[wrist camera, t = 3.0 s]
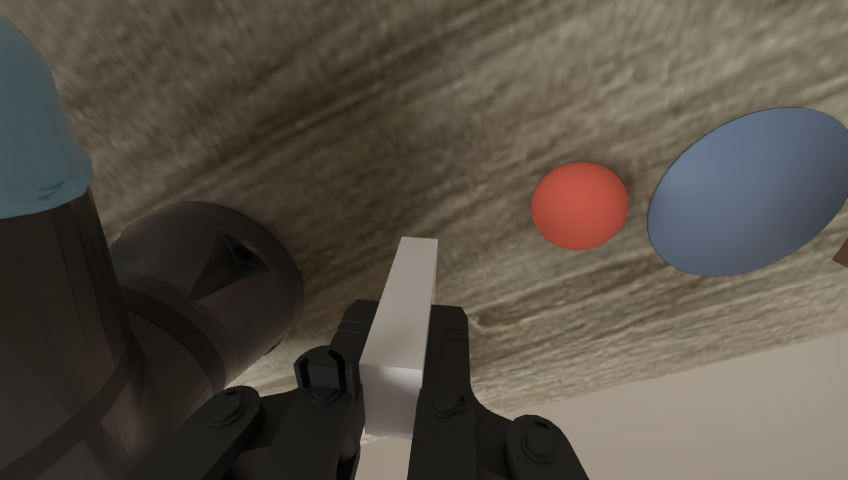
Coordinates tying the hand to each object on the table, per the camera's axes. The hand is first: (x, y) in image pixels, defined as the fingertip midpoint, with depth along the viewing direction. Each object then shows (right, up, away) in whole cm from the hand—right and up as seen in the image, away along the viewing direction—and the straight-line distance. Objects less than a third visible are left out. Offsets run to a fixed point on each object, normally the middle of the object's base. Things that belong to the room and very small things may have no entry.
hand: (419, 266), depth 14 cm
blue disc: (+22, +4, +8) cm, 24 cm away
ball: (+10, +3, +7) cm, 12 cm away
